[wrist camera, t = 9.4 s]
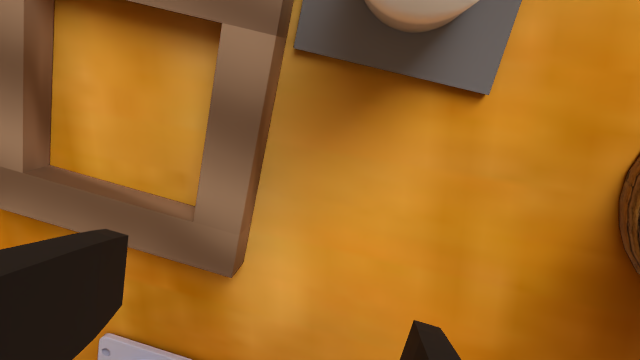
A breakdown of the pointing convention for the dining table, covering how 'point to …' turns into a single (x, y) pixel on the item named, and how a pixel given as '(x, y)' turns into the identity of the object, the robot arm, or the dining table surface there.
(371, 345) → the dining table surface
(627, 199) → the wooden mug
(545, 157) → the dining table surface
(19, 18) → the jug holder
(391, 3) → the jug
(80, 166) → the dining table surface
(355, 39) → the mat
